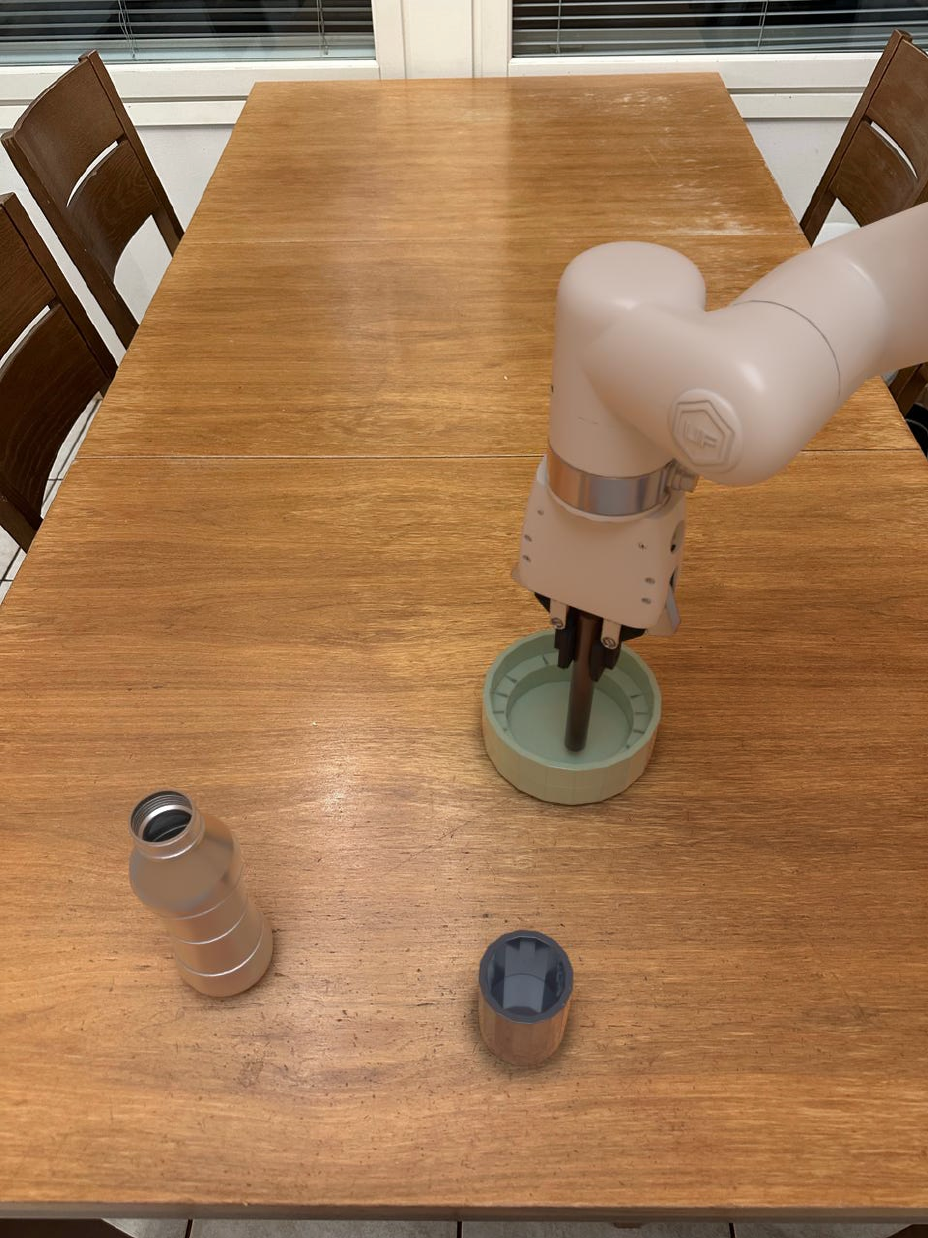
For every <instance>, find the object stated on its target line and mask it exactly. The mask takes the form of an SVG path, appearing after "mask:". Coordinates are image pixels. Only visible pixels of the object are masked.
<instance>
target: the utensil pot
mask: <svg viewBox="0 0 928 1238" xmlns="http://www.w3.org/2000/svg"><path fill="white" fill-rule="evenodd" d="M477 982H478V983H477V984H478V985H477V988H478V990H477V991H478V993H477V994H478V997H477V998H478V1002H477V1003H478V1004H477V1005H478V1008H477V1009H478V1024H479V1025H478V1026H479V1031H480V1035H481V1038H482V1040H483V1042H484V1043H485V1046H486V1047H487V1048H488V1049H489V1051H490V1052H491V1053H492V1055H494V1056H496V1057H497V1058H498V1059H500V1060H501V1061H503V1062H505V1063H507V1064H511V1065H513V1066H521V1067H526V1066H533V1065H537V1064H539V1063H542V1062H544V1061H546V1060H547V1059H548V1058H550V1057H551V1056H552V1055H553V1054H554V1053H555V1052H556V1050H557V1049H558V1048H559V1046H560V1045H561V1043H562V1040H563V1038H564V1033H565V1028H566V1026H567V1022H568V1016H569V1012H570V1007H571V1002H572V995H573V991H574V969H573V966H572V964H571V961H570V957H569V955H568V953H567V952H566V951H565V949H564V948H563V947H562V946H561V945H560V944H559V943H558V941H556V940H555V939H554V938H552V937H550V936H548V935H546V934H544V933H542V932H540V931H538V930H530V929H515V930H514V931H510V932H507V933H504V934H501V935H500V936H499V937H498V938H496V939H495V940H494V941H492V942H491V943H490V944H488V946H487V948H486V950H485V951H484V954H483V955H482V957H481V958H480V961H479V967H478V979H477Z"/></svg>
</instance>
